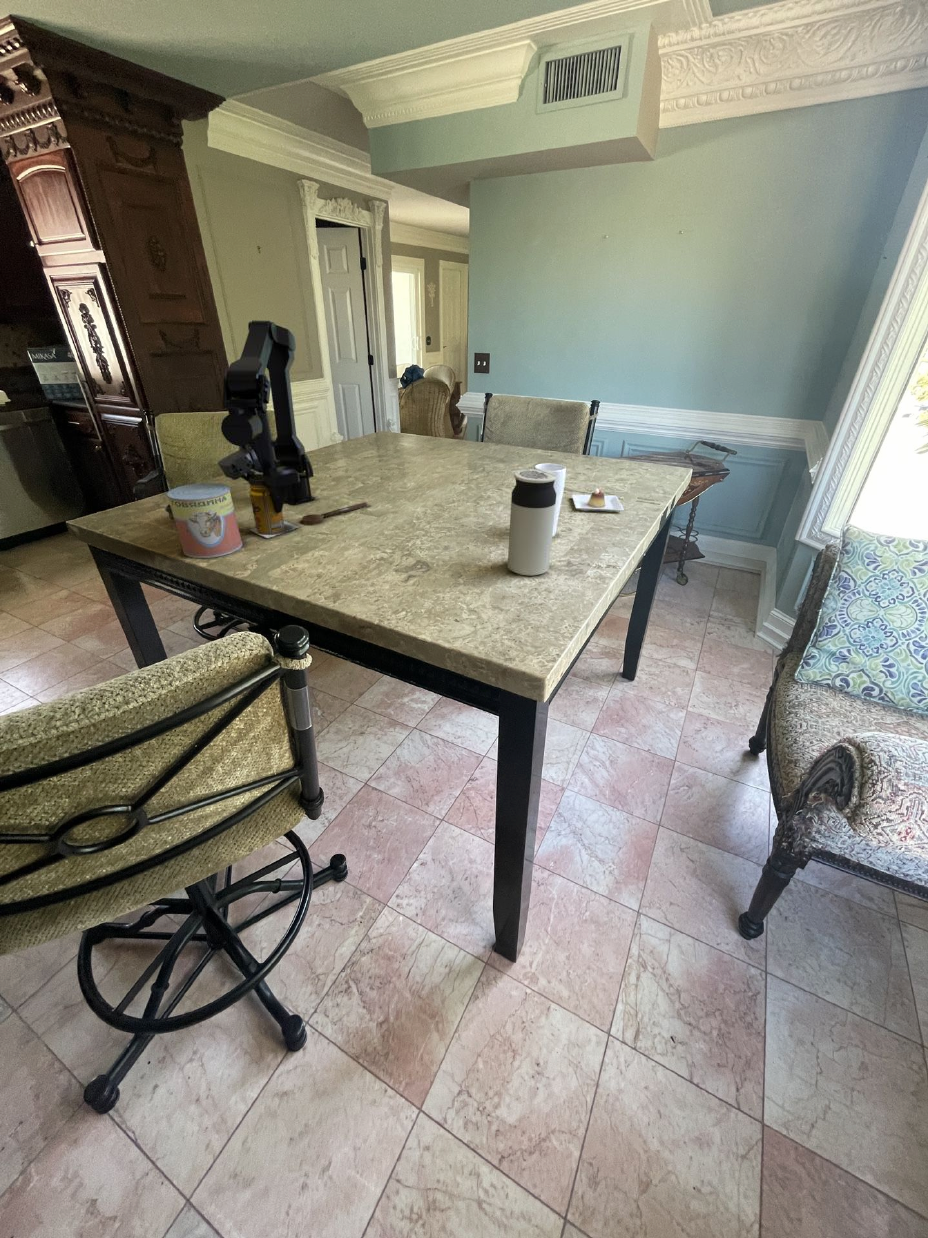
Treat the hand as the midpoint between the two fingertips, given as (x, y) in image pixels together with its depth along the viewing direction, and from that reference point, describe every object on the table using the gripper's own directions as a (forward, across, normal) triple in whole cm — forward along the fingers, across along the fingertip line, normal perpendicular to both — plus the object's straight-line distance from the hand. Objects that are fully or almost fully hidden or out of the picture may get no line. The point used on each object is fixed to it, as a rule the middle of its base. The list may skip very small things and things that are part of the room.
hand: (271, 509), depth 111 cm
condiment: (+5, 0, 0) cm, 5 cm away
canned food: (+5, 0, -14) cm, 15 cm away
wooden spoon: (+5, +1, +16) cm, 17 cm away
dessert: (+5, +44, +67) cm, 80 cm away
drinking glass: (+5, +46, +40) cm, 61 cm away
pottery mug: (+5, -19, -9) cm, 22 cm away
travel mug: (+5, +54, +23) cm, 59 cm away
